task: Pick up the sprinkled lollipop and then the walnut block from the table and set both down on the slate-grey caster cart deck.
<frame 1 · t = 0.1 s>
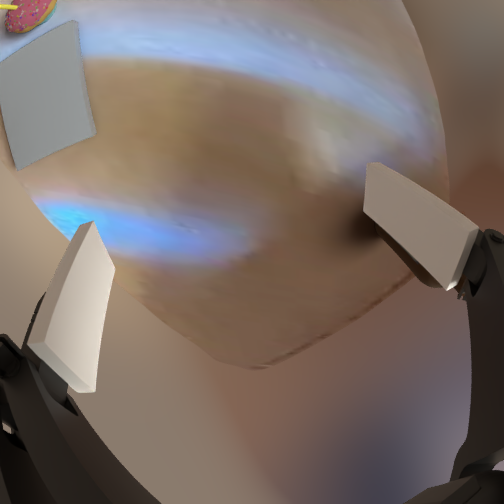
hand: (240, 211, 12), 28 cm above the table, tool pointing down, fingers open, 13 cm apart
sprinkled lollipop: (44, 11, 15), on the table
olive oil: (390, 217, 52), on the table
cart deck: (46, 94, 24), on the table
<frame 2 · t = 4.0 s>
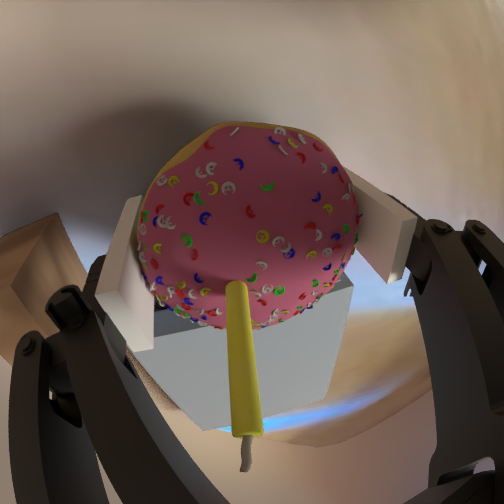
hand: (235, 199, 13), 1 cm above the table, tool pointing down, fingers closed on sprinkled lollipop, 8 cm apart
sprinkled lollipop: (231, 190, 14), on the table, touching gripper
walnut block: (45, 259, 13), on the table
cart deck: (248, 356, 22), on the table
when the fingers open (6 cm above the table, at t = 8.6 s): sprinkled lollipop drops 2 cm, resting on cart deck.
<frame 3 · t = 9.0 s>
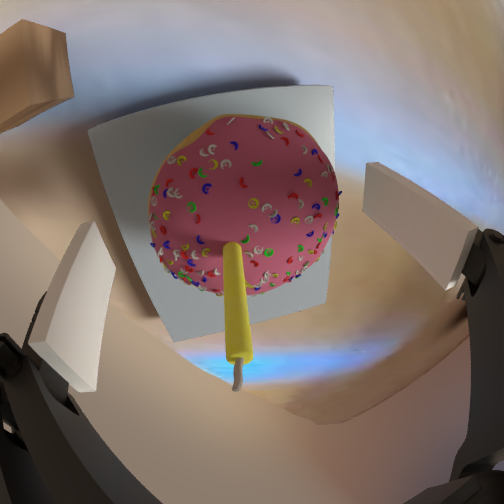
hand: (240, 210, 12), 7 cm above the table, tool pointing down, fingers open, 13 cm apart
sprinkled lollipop: (228, 177, 15), point 3 cm above the table, touching cart deck
walnut block: (39, 79, 10), on the table
cart deck: (228, 216, 20), on the table
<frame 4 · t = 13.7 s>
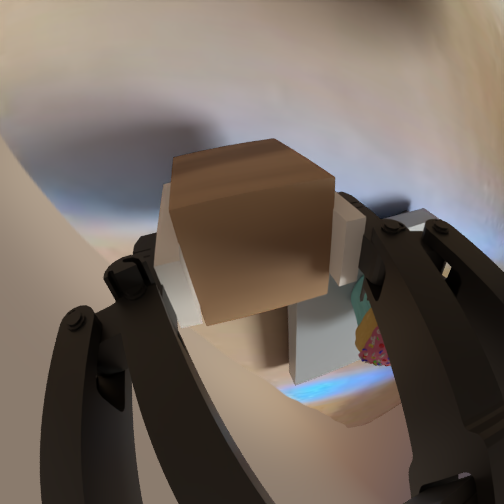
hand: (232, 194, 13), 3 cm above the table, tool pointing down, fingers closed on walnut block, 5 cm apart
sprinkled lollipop: (372, 283, 21), point 3 cm above the table, touching cart deck
walnut block: (231, 192, 14), point 3 cm above the table, touching gripper
cart deck: (349, 296, 26), on the table
when the fingers open (3 cm above the table, at t = 19.5 s): walnut block stays where it is, resting on cart deck.
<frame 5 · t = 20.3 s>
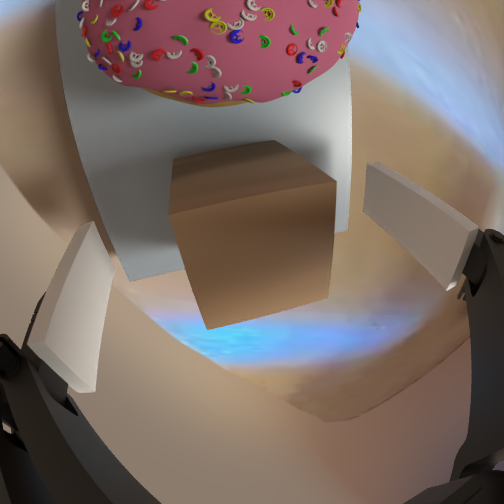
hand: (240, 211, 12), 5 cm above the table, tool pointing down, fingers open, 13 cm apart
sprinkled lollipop: (209, 18, 8), point 3 cm above the table, touching cart deck
walnut block: (232, 194, 14), point 3 cm above the table, touching cart deck
cart deck: (210, 95, 13), on the table
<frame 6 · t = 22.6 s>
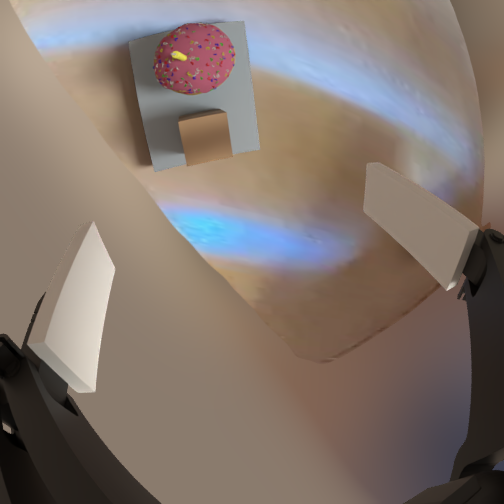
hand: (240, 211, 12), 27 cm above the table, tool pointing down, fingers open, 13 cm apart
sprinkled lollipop: (192, 62, 25), point 3 cm above the table, touching cart deck
walnut block: (202, 130, 31), point 3 cm above the table, touching cart deck
cart deck: (194, 92, 30), on the table
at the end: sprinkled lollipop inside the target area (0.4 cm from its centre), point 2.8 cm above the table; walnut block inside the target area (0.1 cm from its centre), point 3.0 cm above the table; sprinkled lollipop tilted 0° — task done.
